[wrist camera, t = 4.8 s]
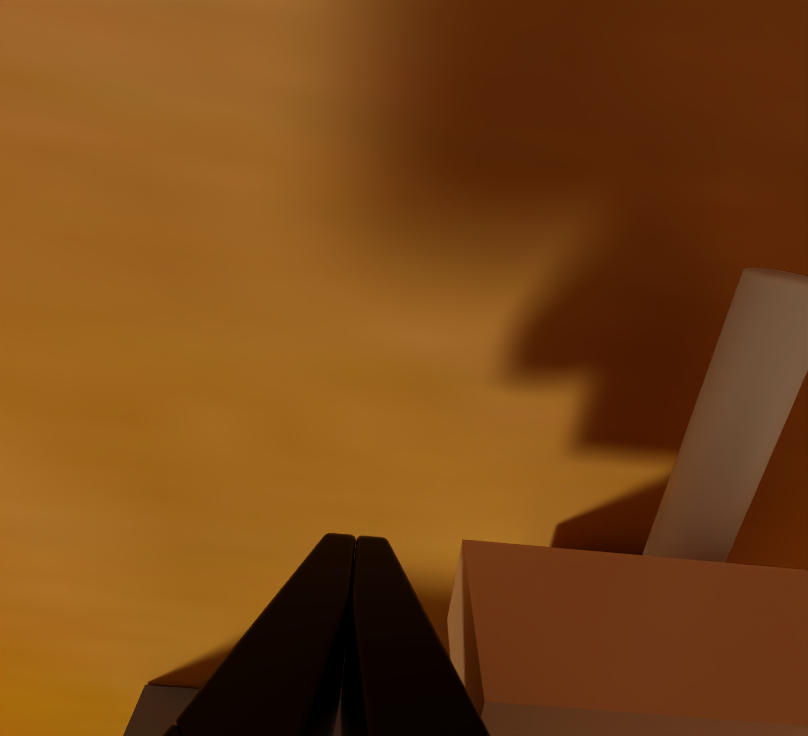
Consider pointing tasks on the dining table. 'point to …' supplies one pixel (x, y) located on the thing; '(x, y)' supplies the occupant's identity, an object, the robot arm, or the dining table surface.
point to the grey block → (168, 710)
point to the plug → (735, 417)
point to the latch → (628, 643)
